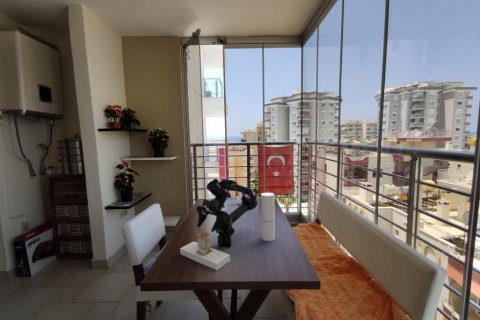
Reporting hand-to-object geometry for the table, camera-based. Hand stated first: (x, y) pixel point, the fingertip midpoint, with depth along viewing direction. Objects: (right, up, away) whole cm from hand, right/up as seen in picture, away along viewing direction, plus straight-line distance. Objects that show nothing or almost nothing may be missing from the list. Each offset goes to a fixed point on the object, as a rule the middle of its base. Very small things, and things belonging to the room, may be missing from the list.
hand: (204, 229), depth 110 cm
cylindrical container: (+32, -11, +19) cm, 39 cm away
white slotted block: (0, -14, +1) cm, 14 cm away
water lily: (+21, -4, +82) cm, 84 cm away
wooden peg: (0, -14, +1) cm, 14 cm away
